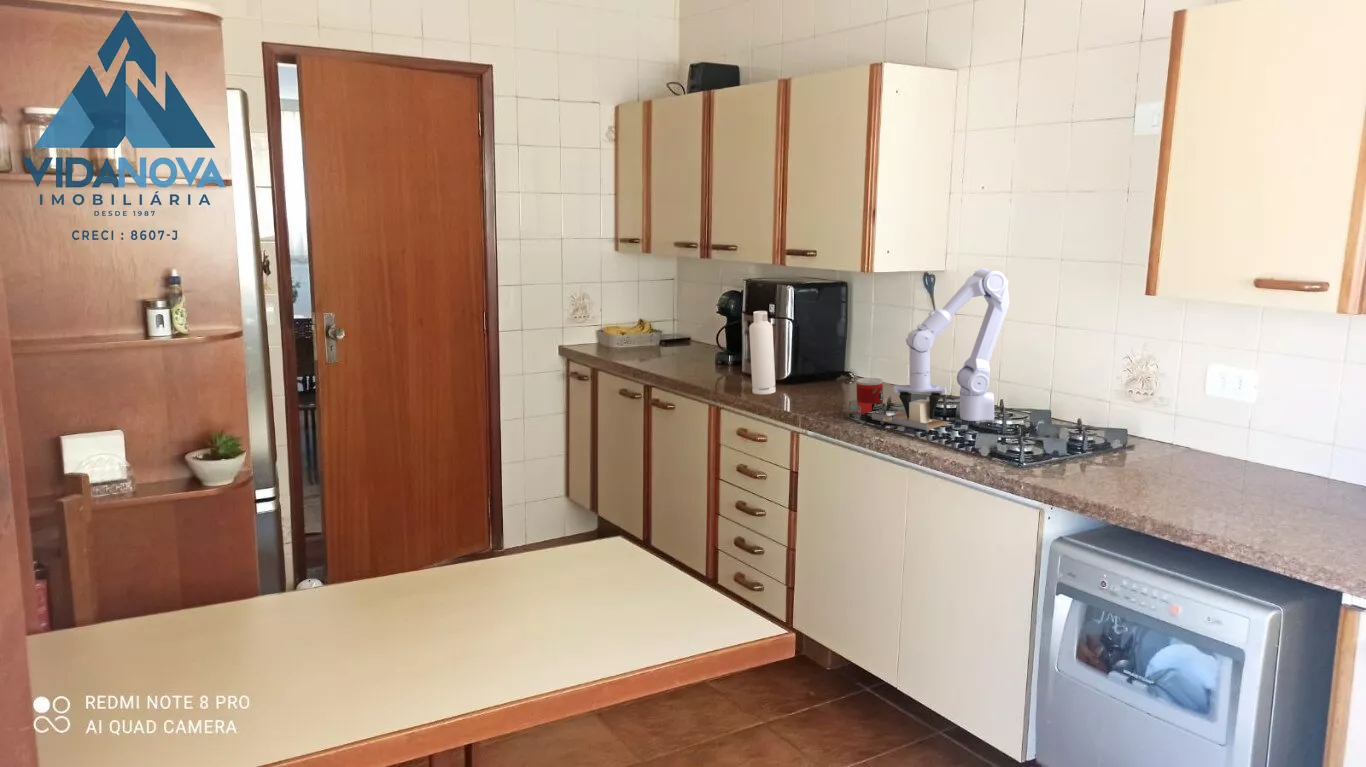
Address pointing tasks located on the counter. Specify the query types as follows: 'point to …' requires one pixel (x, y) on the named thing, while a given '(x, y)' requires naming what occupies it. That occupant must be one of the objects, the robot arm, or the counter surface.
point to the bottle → (762, 354)
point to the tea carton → (920, 411)
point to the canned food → (869, 395)
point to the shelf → (908, 421)
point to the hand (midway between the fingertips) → (920, 417)
